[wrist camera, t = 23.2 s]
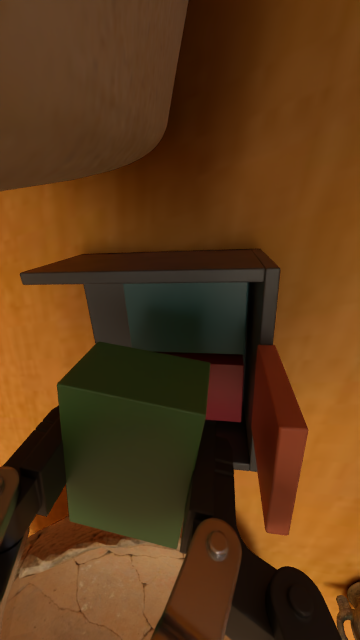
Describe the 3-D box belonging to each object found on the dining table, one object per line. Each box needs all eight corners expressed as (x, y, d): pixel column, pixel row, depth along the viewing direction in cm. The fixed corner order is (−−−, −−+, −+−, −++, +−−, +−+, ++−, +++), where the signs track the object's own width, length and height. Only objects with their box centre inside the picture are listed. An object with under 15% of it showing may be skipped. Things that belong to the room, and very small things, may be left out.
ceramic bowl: (332, 577, 24) (405, 1004, 12) (195, 597, 40) (165, 793, 27) (58, 420, 23) (-178, 716, 11) (26, 503, 38) (-85, 664, 26)
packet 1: (244, 269, 16) (249, 280, 13) (241, 334, 17) (245, 355, 15) (136, 271, 17) (121, 282, 14) (144, 332, 19) (131, 351, 16)
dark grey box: (262, 248, 16) (332, 312, 6) (251, 402, 20) (279, 588, 10) (81, 254, 18) (-104, 309, 8) (109, 393, 22) (16, 542, 12)
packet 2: (241, 343, 18) (244, 365, 15) (238, 395, 19) (241, 422, 17) (144, 340, 19) (132, 360, 16) (150, 390, 21) (140, 415, 18)
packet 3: (98, 340, 10) (55, 383, 8) (210, 361, 10) (206, 415, 7) (99, 460, 13) (68, 521, 10) (186, 481, 12) (176, 550, 10)
